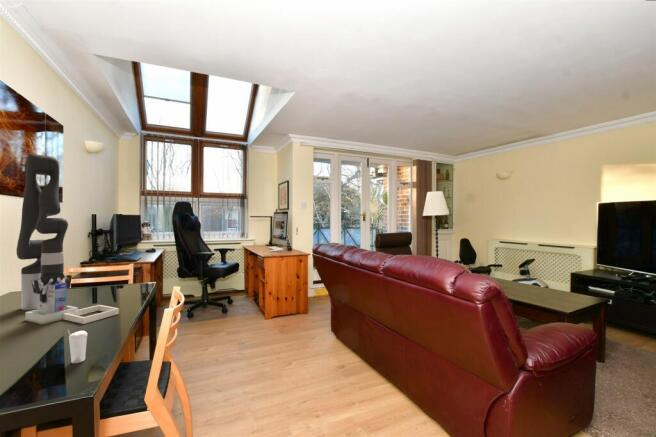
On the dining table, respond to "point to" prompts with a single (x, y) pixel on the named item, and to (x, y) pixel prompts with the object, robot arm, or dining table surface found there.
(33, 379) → the dining table surface
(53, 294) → the ink cartridge box
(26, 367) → the dining table surface
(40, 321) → the tray
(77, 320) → the white square frame
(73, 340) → the milkshake
